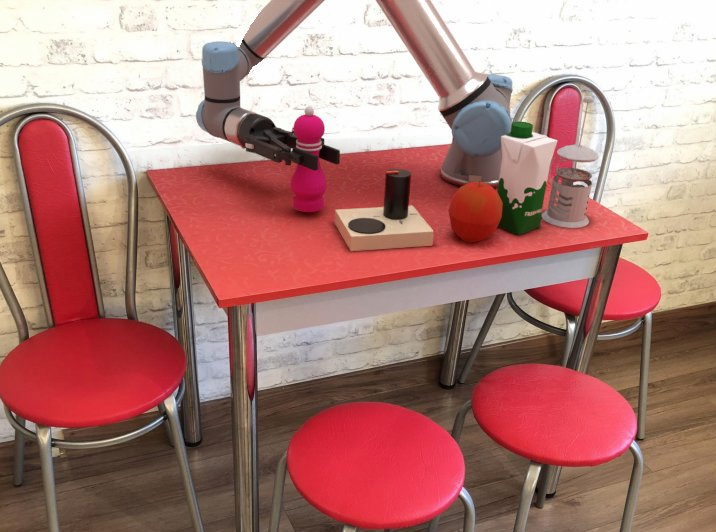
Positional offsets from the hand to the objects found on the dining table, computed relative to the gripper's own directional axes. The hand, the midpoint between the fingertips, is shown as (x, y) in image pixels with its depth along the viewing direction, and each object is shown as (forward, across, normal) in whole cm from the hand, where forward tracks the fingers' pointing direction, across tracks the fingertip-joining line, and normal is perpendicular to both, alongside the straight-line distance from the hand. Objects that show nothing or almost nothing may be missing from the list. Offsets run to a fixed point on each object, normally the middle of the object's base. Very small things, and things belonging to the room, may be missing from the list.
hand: (327, 160), depth 152 cm
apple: (+24, -17, -13) cm, 32 cm away
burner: (+12, +1, -9) cm, 15 cm away
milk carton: (+26, -28, -13) cm, 40 cm away
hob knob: (+12, -7, -9) cm, 17 cm away
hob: (+12, -4, -12) cm, 18 cm away
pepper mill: (-5, 0, -11) cm, 12 cm away
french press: (+29, -40, -13) cm, 51 cm away
